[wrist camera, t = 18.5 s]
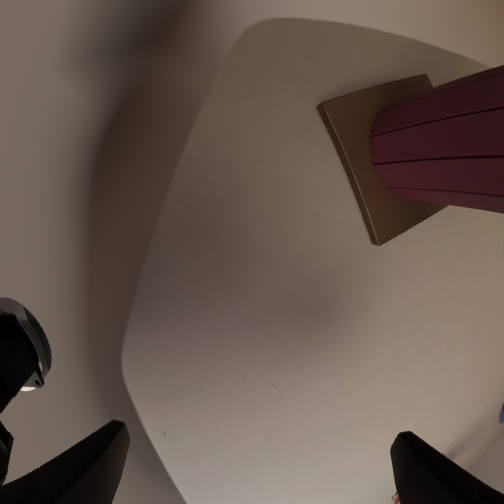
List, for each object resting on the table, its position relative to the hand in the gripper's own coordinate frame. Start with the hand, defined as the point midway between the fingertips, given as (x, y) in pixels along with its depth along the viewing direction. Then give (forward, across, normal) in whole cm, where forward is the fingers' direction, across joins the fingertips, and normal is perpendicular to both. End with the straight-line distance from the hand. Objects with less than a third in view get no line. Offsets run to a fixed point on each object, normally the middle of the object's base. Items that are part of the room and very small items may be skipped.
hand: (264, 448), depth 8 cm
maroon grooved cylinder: (+13, -10, -11) cm, 19 cm away
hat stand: (+14, -9, -11) cm, 20 cm away
